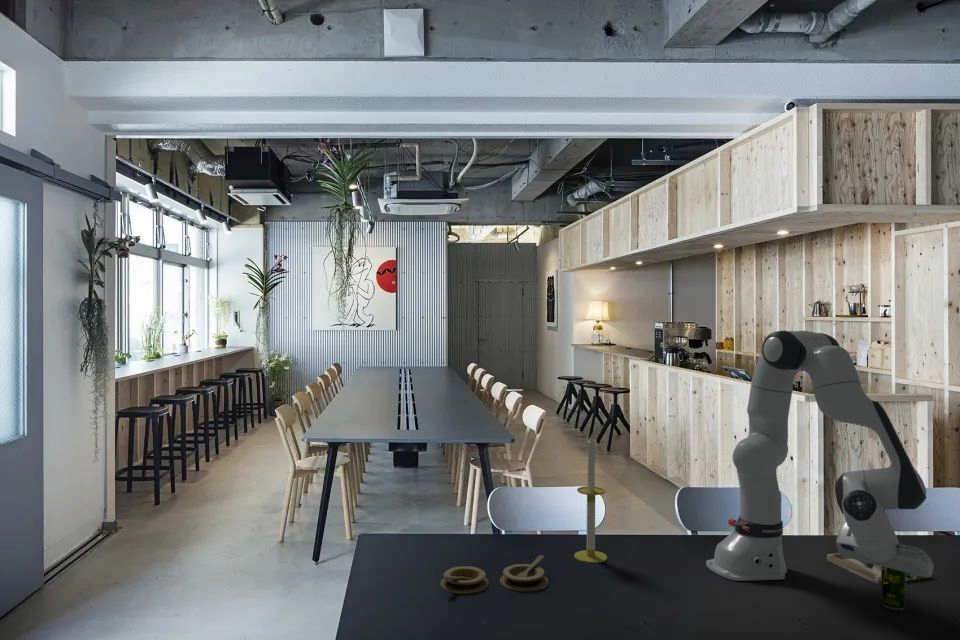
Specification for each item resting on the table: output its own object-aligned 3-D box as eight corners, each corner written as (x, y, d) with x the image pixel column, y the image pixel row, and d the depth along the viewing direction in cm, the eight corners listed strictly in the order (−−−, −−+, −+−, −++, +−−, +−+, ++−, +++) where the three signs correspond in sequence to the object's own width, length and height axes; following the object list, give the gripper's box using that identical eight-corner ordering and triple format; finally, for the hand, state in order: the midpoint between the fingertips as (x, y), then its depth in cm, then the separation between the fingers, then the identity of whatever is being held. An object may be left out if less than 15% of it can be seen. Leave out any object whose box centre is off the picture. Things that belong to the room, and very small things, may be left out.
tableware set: (540, 569, 195) (540, 549, 195) (555, 598, 175) (555, 575, 175) (438, 574, 192) (438, 553, 191) (442, 603, 172) (442, 580, 172)
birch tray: (878, 584, 183) (878, 577, 183) (827, 561, 201) (827, 554, 201) (928, 577, 188) (928, 570, 188) (874, 555, 206) (874, 548, 206)
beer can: (882, 600, 173) (883, 553, 173) (907, 605, 170) (907, 558, 170) (879, 606, 169) (879, 559, 169) (903, 613, 166) (904, 564, 166)
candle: (592, 549, 210) (593, 429, 210) (614, 559, 201) (615, 434, 201) (567, 554, 205) (568, 432, 204) (588, 565, 196) (589, 438, 196)
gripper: (929, 540, 155) (942, 572, 161) (836, 520, 170) (851, 549, 177) (923, 564, 152) (936, 595, 159) (829, 541, 168) (844, 570, 174)
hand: (890, 571), depth 168 cm, fingers open, 8 cm apart
